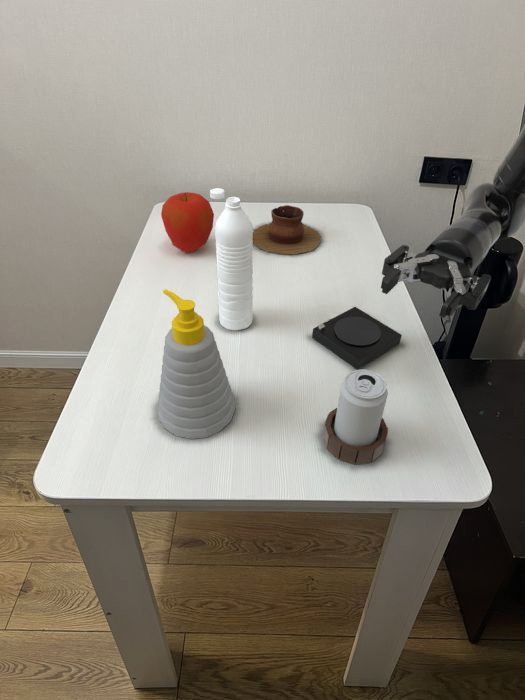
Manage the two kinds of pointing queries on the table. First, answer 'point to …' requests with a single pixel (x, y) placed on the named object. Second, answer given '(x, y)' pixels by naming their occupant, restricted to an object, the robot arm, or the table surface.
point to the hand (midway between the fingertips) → (413, 299)
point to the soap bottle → (193, 377)
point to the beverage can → (360, 408)
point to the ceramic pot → (286, 233)
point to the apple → (187, 220)
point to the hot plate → (356, 337)
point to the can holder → (350, 452)
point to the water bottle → (234, 263)
